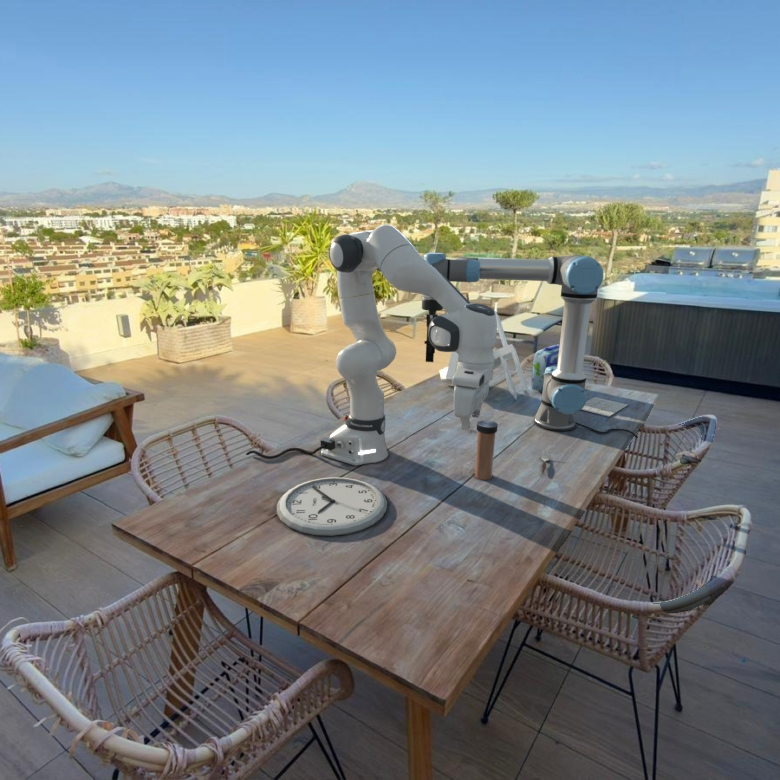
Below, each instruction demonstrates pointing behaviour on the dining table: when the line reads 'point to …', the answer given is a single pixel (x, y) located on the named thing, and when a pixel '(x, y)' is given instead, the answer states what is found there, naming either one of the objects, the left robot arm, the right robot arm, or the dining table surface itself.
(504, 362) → the white plastic object
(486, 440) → the tan rounded cylinder
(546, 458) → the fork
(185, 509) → the dining table surface
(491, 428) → the lid
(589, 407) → the invitation card
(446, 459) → the dining table surface
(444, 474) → the dining table surface
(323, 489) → the wall clock
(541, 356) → the lunch box
